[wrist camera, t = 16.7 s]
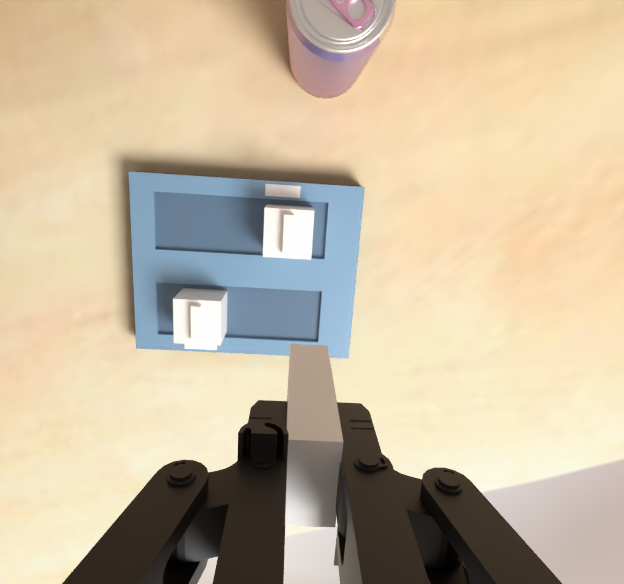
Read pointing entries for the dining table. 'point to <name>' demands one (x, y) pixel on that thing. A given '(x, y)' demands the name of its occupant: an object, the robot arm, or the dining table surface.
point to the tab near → (288, 231)
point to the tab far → (200, 316)
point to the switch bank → (243, 261)
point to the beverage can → (334, 41)
